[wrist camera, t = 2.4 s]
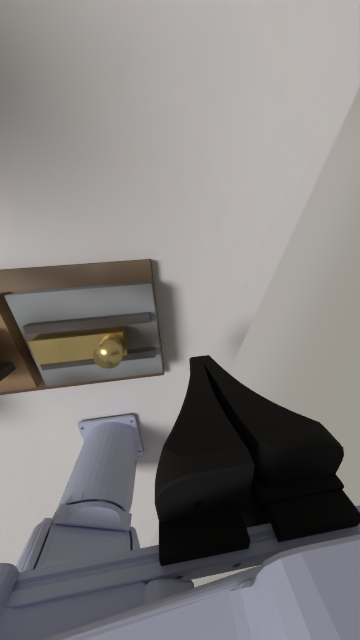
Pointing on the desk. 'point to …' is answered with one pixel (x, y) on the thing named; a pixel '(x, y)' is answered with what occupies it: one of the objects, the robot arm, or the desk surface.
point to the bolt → (82, 346)
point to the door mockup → (77, 321)
